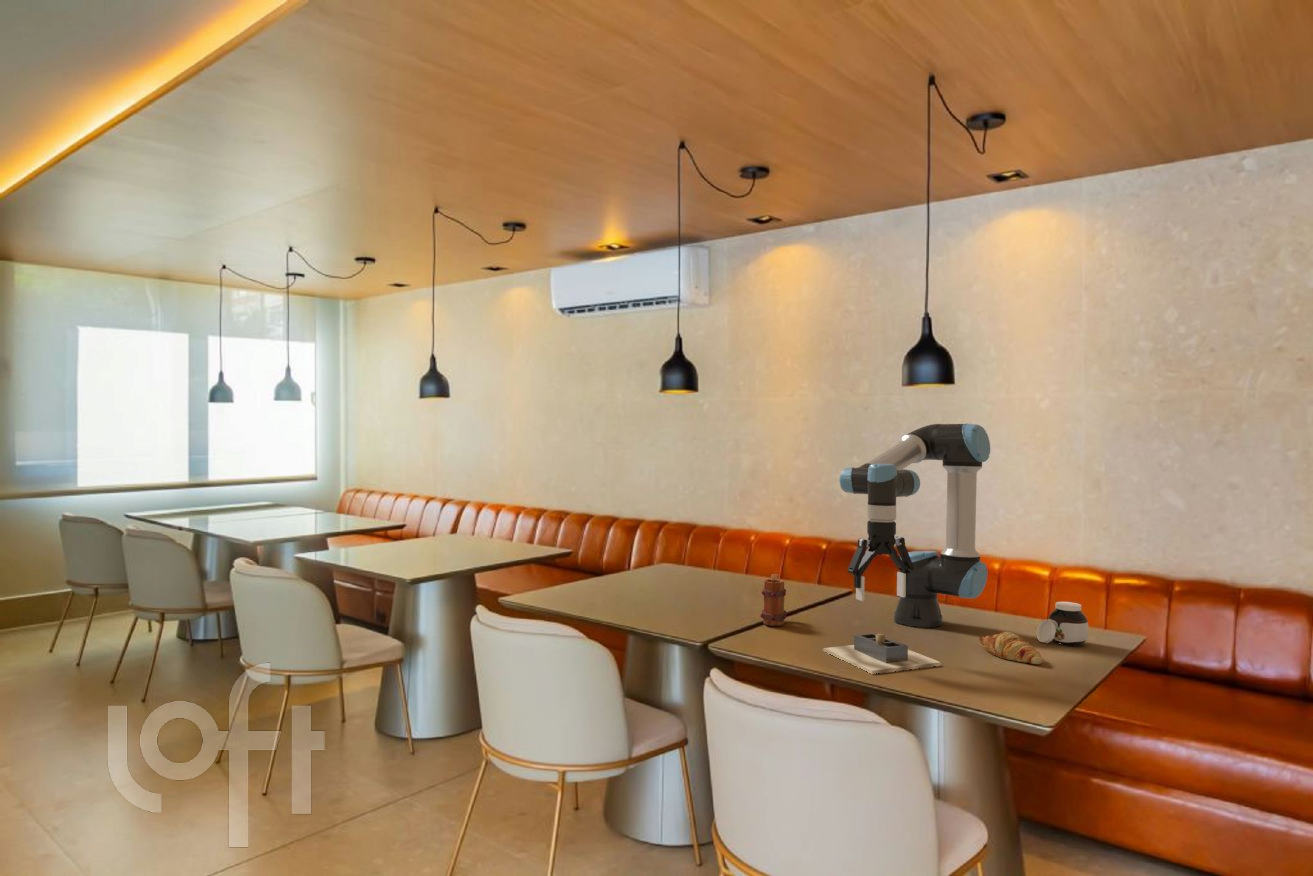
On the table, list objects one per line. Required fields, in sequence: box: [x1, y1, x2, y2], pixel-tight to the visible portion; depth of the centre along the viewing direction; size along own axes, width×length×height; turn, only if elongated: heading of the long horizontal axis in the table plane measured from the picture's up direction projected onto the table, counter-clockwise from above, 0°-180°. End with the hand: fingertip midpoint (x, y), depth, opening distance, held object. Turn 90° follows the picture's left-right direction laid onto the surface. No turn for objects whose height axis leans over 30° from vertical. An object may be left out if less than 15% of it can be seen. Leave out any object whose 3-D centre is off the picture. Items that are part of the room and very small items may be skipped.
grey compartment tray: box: [853, 632, 909, 663], centre depth 214 cm, size 14×7×4 cm, turn 22°
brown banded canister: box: [760, 573, 788, 627], centre depth 254 cm, size 15×8×15 cm, turn 168°
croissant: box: [979, 631, 1044, 665], centre depth 218 cm, size 21×10×8 cm, turn 24°
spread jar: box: [1035, 601, 1089, 647], centre depth 232 cm, size 12×11×12 cm
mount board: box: [822, 633, 941, 675], centre depth 214 cm, size 22×22×6 cm
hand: (880, 598), depth 214 cm, fingers open, 13 cm apart
